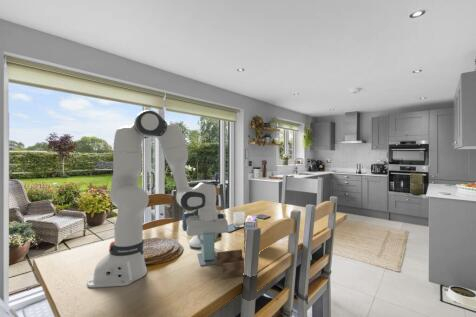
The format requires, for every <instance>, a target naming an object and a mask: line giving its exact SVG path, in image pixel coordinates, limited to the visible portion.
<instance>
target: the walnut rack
mask: <svg viewBox="0 0 476 317" xmlns="http://www.w3.org/2000/svg"><path fill="white" fill-rule="evenodd" d="M216 256H217V264H216V265H217V267H220V266H222V279H223V280H224V279H231V278H232V279H233V278H238V277H244V276H243V273H244V260H245V258H244V256H243V249H233V250H225V251H217V252H216Z"/></svg>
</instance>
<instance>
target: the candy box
mask: <svg viewBox="0 0 476 317" xmlns="http://www.w3.org/2000/svg"><path fill="white" fill-rule="evenodd" d="M250 227H259V226H258V215H247V217H246V218H245V220H244V221H243V253H246V252H245V241H246V231H247V229H248V228H250Z"/></svg>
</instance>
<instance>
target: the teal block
mask: <svg viewBox="0 0 476 317" xmlns="http://www.w3.org/2000/svg"><path fill="white" fill-rule="evenodd" d="M214 237H215V234H214V233H203V235H201V239H203V244H201V247H200V248H201V251H200V252H201V253H202V256H203V259H204V260H212V259H214V252H215V242H214Z"/></svg>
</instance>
